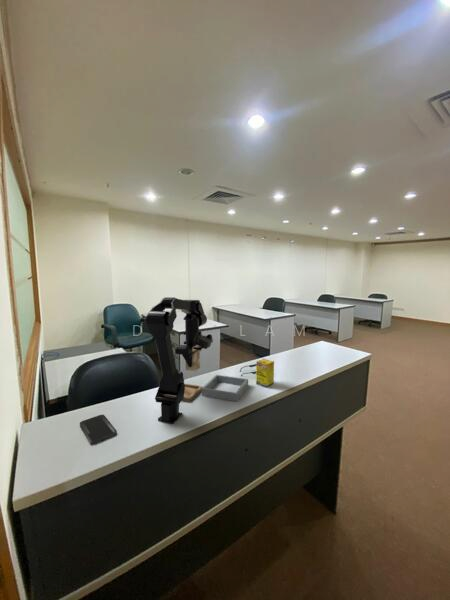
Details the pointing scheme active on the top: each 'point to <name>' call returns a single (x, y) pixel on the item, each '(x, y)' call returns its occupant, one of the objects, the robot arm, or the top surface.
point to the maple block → (194, 361)
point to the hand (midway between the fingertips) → (192, 365)
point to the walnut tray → (190, 392)
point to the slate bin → (224, 394)
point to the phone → (97, 429)
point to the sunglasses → (249, 366)
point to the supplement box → (265, 372)
